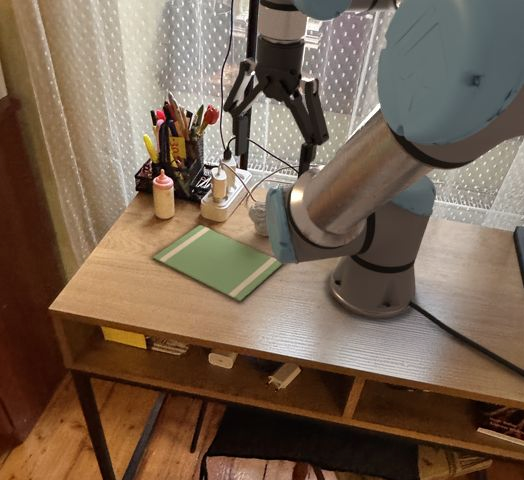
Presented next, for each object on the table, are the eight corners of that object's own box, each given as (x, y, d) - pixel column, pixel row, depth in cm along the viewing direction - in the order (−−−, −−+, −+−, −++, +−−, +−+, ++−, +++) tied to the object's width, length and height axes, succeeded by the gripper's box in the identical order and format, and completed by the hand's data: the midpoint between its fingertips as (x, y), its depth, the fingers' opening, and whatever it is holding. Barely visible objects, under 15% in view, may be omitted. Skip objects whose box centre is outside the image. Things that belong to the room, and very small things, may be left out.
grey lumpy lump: (245, 225, 111) (247, 194, 106) (279, 225, 111) (282, 195, 106) (248, 242, 106) (250, 211, 101) (283, 242, 107) (286, 211, 102)
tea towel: (283, 263, 102) (283, 262, 102) (240, 302, 94) (240, 300, 94) (200, 226, 109) (200, 224, 109) (153, 258, 101) (152, 256, 101)
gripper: (365, 50, 81) (340, 180, 96) (230, 12, 90) (228, 137, 105) (341, 63, 76) (320, 197, 92) (202, 22, 85) (203, 150, 100)
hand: (270, 165), depth 98 cm, fingers open, 13 cm apart
